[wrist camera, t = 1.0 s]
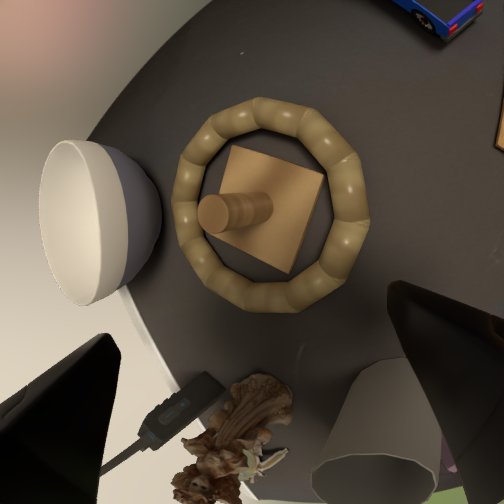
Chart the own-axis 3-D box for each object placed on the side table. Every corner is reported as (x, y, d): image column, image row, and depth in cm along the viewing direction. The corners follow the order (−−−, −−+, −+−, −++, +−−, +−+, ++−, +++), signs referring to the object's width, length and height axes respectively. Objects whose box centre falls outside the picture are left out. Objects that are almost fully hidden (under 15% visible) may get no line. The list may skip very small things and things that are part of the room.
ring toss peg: (326, 175, 20) (291, 170, 14) (291, 272, 23) (248, 301, 17) (235, 145, 23) (180, 136, 17) (212, 232, 26) (158, 247, 20)
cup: (441, 350, 17) (444, 446, 9) (440, 423, 18) (430, 513, 9) (342, 364, 22) (296, 450, 14) (355, 430, 22) (319, 511, 14)
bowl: (186, 131, 25) (98, 121, 17) (190, 293, 29) (114, 328, 21) (100, 152, 33) (36, 154, 25) (107, 268, 36) (48, 286, 28)
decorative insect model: (300, 483, 26) (274, 506, 23) (242, 465, 34) (218, 482, 30) (283, 433, 27) (253, 456, 24) (224, 420, 35) (196, 435, 31)
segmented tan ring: (400, 140, 16) (400, 133, 14) (318, 339, 23) (308, 354, 21) (210, 91, 23) (193, 85, 21) (172, 255, 29) (154, 260, 27)
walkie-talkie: (204, 368, 30) (60, 467, 14) (226, 388, 29) (87, 499, 13) (192, 387, 33) (65, 475, 16) (212, 405, 32) (89, 502, 15)
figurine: (313, 388, 24) (219, 516, 11) (299, 426, 26) (217, 535, 13) (243, 360, 27) (130, 454, 14) (238, 399, 29) (143, 486, 16)
